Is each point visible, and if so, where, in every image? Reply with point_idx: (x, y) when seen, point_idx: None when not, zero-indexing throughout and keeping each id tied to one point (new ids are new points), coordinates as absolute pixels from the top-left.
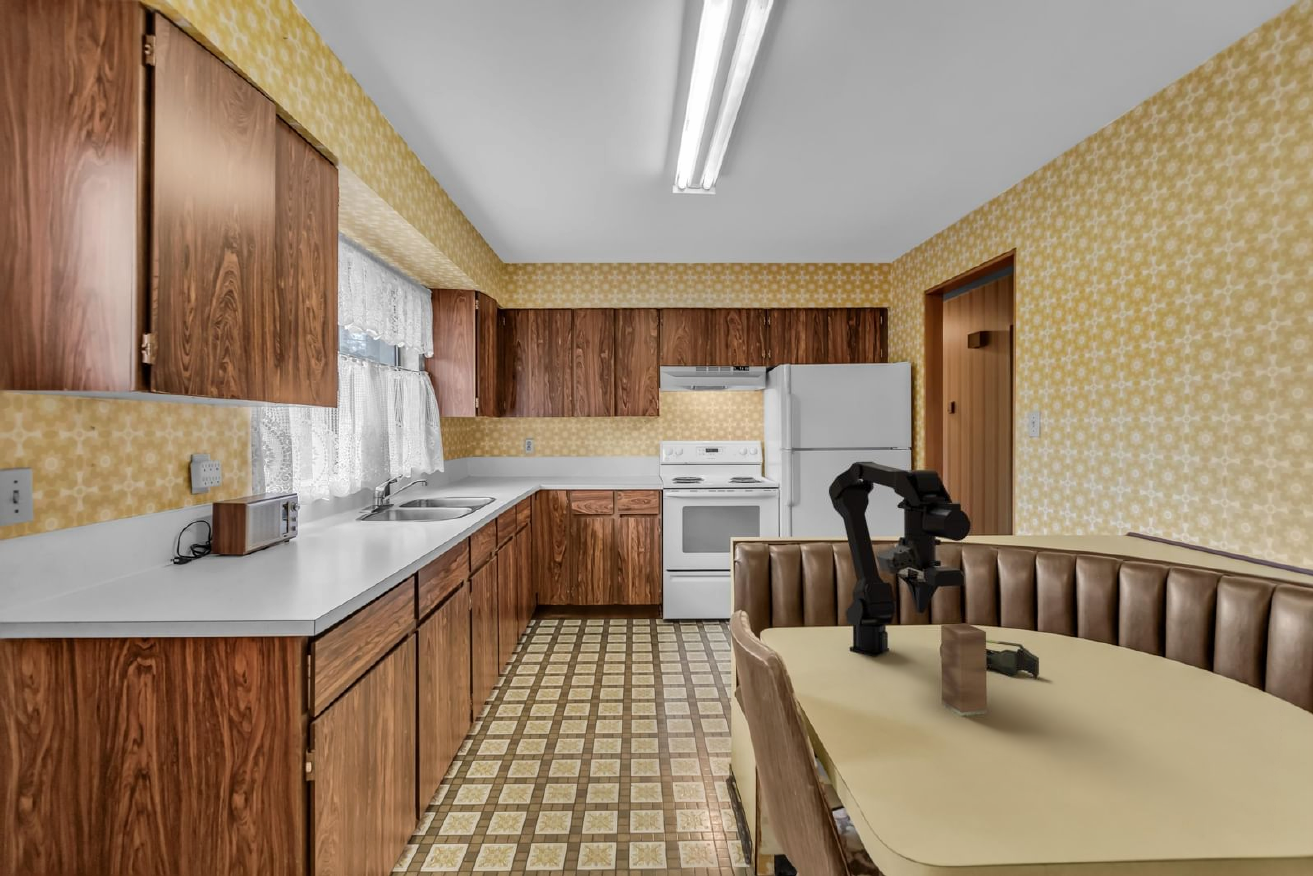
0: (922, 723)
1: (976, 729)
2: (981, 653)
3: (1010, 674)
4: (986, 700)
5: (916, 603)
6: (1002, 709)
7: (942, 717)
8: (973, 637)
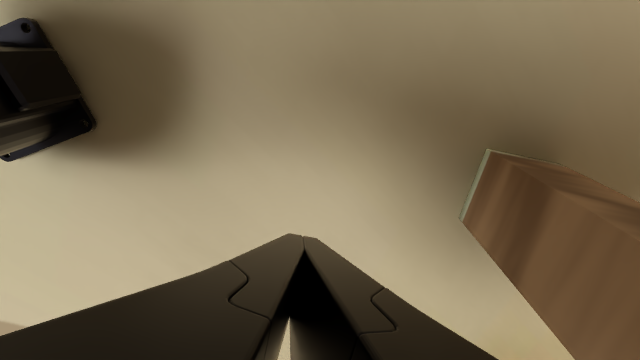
0: (495, 322)
1: None
2: None
3: None
4: (584, 176)
5: (286, 327)
6: (575, 101)
7: None
8: None
